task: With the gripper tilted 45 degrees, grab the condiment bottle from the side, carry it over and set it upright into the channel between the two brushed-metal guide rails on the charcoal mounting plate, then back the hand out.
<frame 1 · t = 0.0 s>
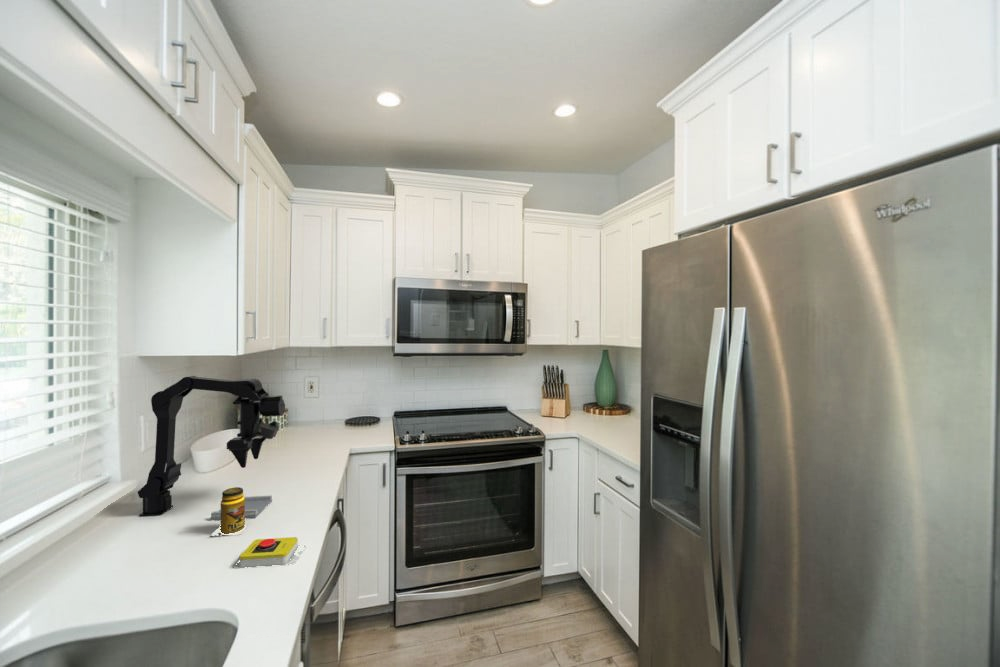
hand: (249, 463, 139), 15 cm above the worktop, tool pointing down, fingers open, 9 cm apart
mounting plate: (251, 510, 136), on the worktop
emergency button: (271, 559, 108), on the worktop
condiment: (229, 531, 122), on the worktop
guide rails: (243, 505, 136), on the mounting plate, point 1 cm above the worktop
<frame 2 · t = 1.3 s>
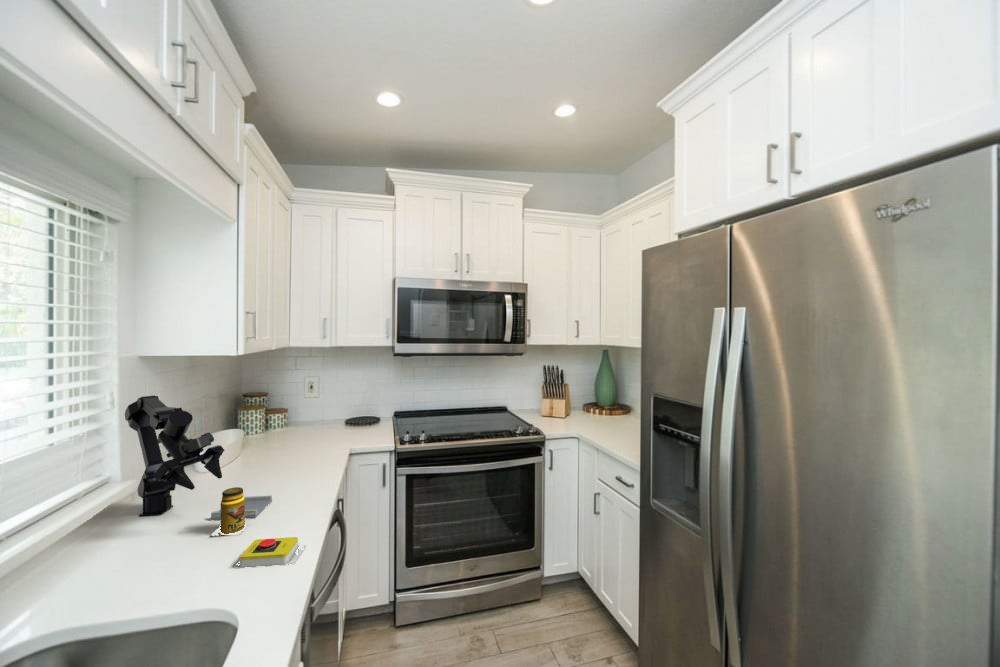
hand: (207, 483, 124), 13 cm above the worktop, tool tilted 45°, fingers open, 9 cm apart
nothing on the worktop moved.
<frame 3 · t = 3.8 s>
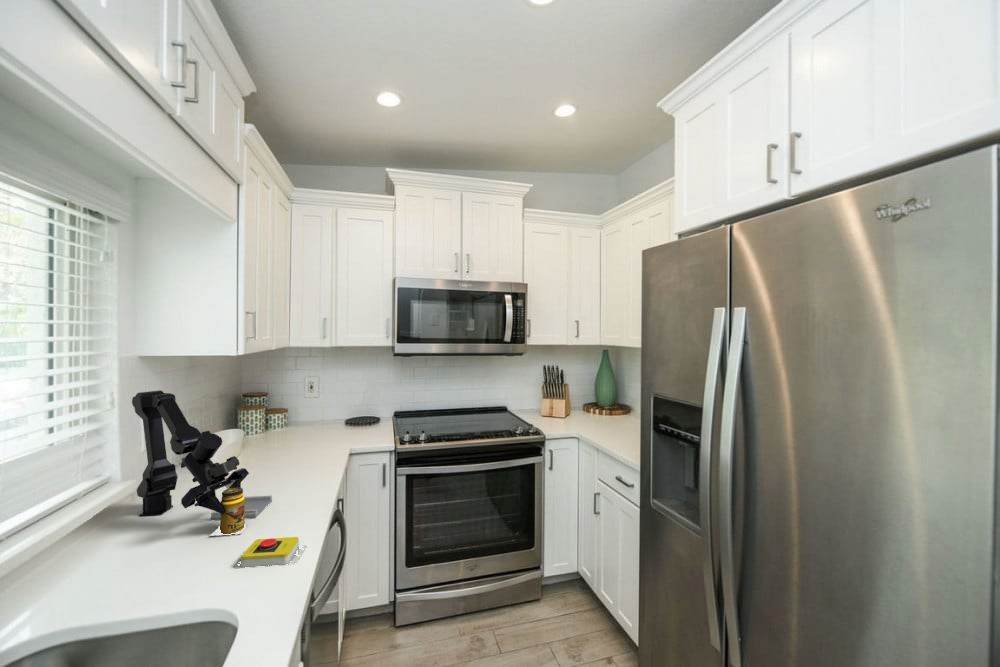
hand: (234, 508, 122), 7 cm above the worktop, tool tilted 45°, fingers closed on condiment, 6 cm apart
condiment: (229, 531, 122), on the worktop, touching gripper
everything else where it was.
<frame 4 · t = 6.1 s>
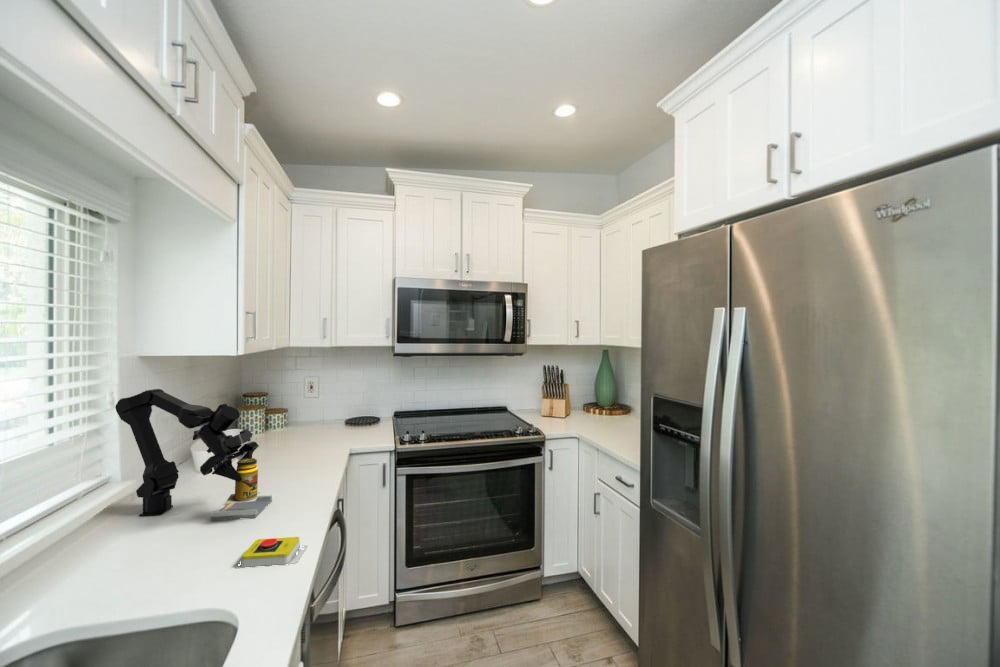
hand: (248, 477, 130), 13 cm above the worktop, tool tilted 45°, fingers closed on condiment, 6 cm apart
condiment: (243, 499, 130), point 6 cm above the worktop, touching gripper
everything else where it was.
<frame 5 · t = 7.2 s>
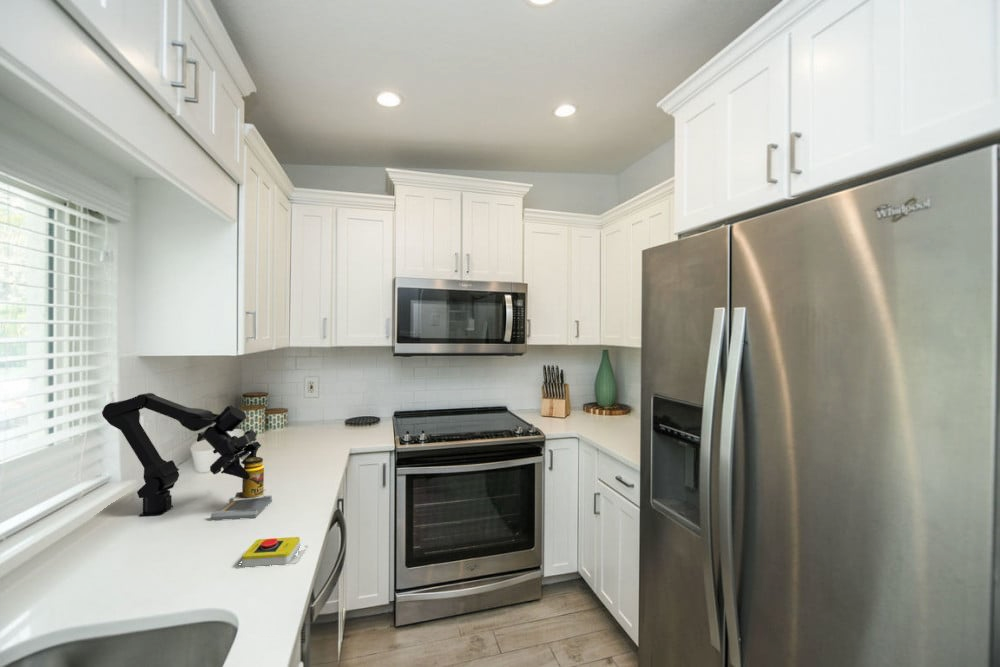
hand: (254, 475, 136), 12 cm above the worktop, tool tilted 45°, fingers closed on condiment, 6 cm apart
condiment: (249, 496, 136), point 5 cm above the worktop, touching gripper
everything else where it was.
when the fingers open (9 cm above the worktop, at t = 8.2 s): condiment drops 1 cm, resting on mounting plate.
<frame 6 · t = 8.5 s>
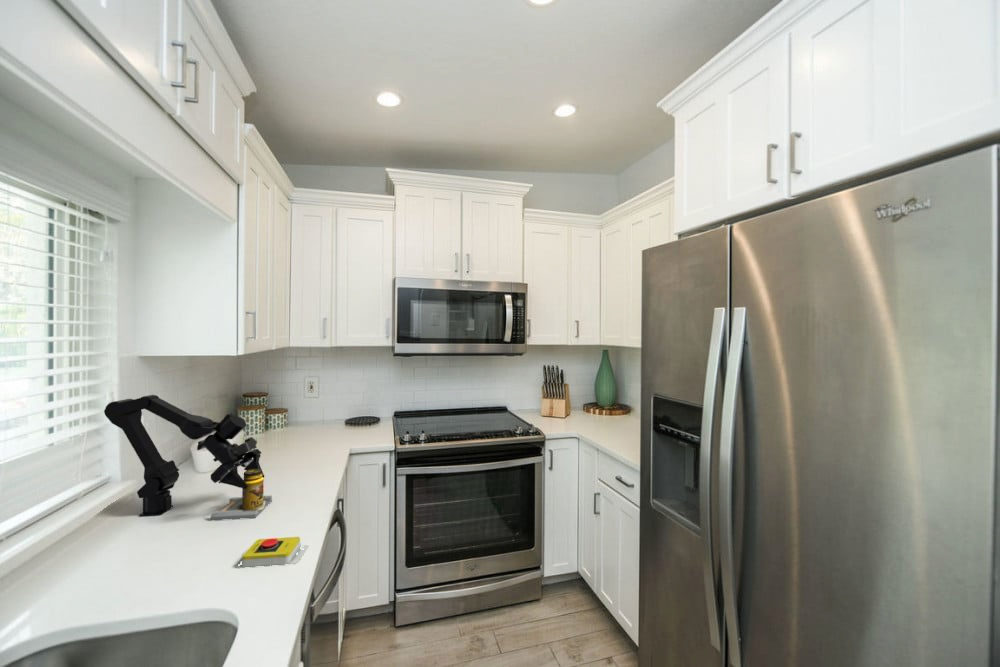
hand: (255, 482, 136), 9 cm above the worktop, tool tilted 45°, fingers open, 9 cm apart
condiment: (249, 508, 136), point 1 cm above the worktop, touching mounting plate
everything else where it was.
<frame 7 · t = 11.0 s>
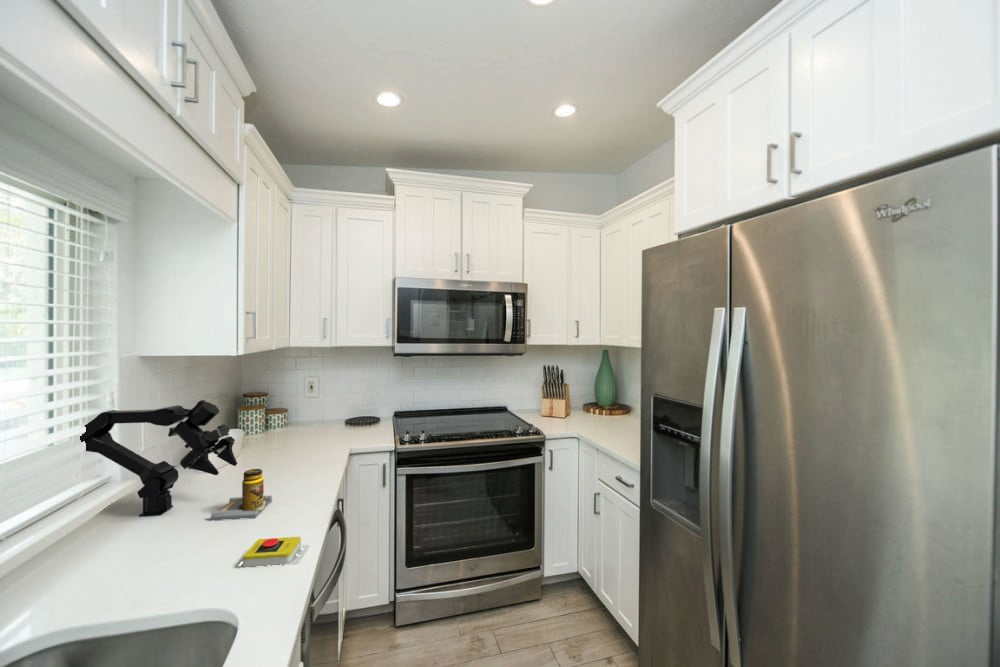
hand: (227, 469, 136), 13 cm above the worktop, tool tilted 45°, fingers open, 9 cm apart
nothing on the worktop moved.
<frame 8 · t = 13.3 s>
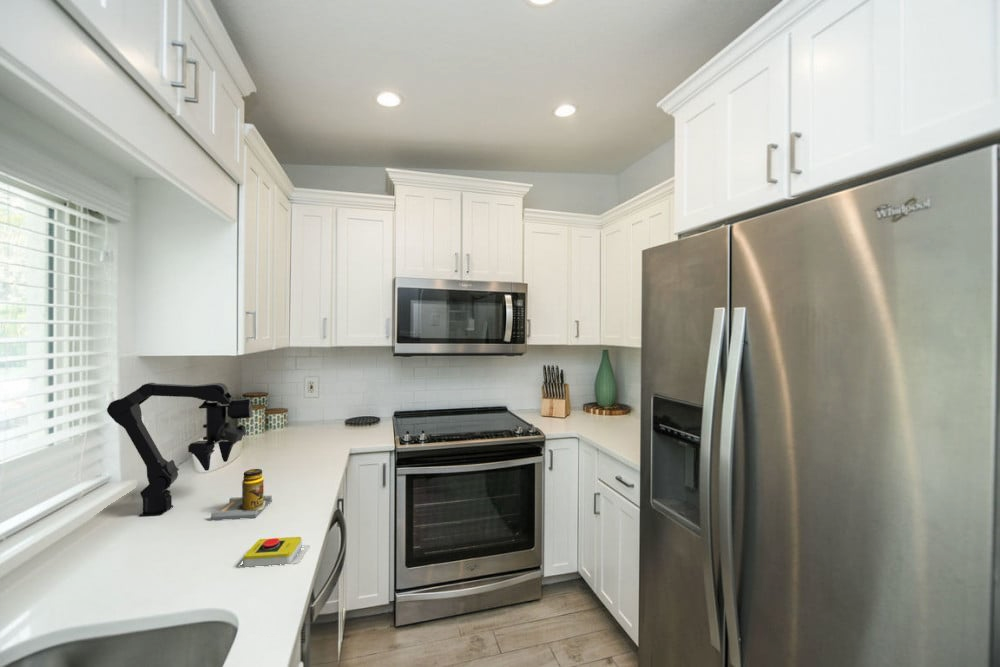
hand: (216, 465, 141), 13 cm above the worktop, tool pointing down, fingers open, 9 cm apart
nothing on the worktop moved.
at the end: condiment 0.4 cm off-centre on the mounting plate, point 0.8 cm above the mounting plate's base; condiment tilted 0°; the gripper is holding nothing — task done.
